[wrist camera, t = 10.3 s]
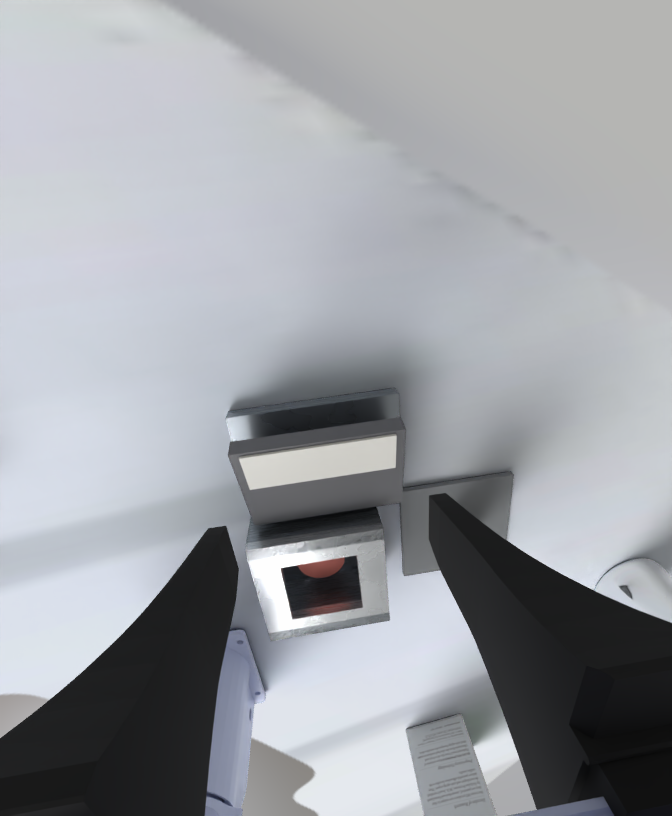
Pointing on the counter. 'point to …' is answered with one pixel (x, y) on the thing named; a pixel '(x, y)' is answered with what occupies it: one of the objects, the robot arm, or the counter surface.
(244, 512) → the counter surface
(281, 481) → the rocker
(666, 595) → the beer glass
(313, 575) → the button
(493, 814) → the skincare box
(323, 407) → the silver metal box
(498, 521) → the mat
